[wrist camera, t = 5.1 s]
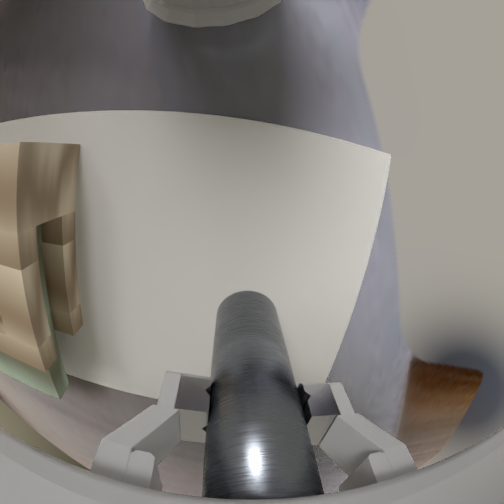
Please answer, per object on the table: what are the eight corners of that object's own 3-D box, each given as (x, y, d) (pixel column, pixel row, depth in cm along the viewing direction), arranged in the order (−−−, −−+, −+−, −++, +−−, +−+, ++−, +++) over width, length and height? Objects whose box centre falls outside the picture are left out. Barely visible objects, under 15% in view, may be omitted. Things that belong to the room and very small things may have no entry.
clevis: (-13, 150, 12) (-63, 156, 7) (80, 144, 13) (20, 141, 8) (9, 343, 17) (-21, 375, 12) (93, 375, 18) (67, 423, 13)
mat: (-18, 127, 12) (-22, 127, 11) (387, 155, 14) (391, 155, 14) (2, 342, 17) (0, 345, 17) (310, 407, 20) (311, 411, 20)
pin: (220, 286, 13) (202, 505, 3) (282, 294, 13) (348, 496, 4) (213, 338, 14) (200, 530, 4) (270, 343, 14) (306, 528, 5)
